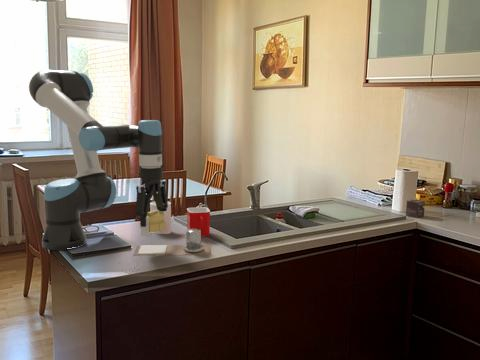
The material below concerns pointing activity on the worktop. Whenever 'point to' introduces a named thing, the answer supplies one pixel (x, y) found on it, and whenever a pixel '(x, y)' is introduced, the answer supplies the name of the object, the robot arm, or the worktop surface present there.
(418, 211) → the box
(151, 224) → the yellow block
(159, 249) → the pad
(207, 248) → the board
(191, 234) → the clear drinking glass
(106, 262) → the worktop surface
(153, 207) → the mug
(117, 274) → the worktop surface
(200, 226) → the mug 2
